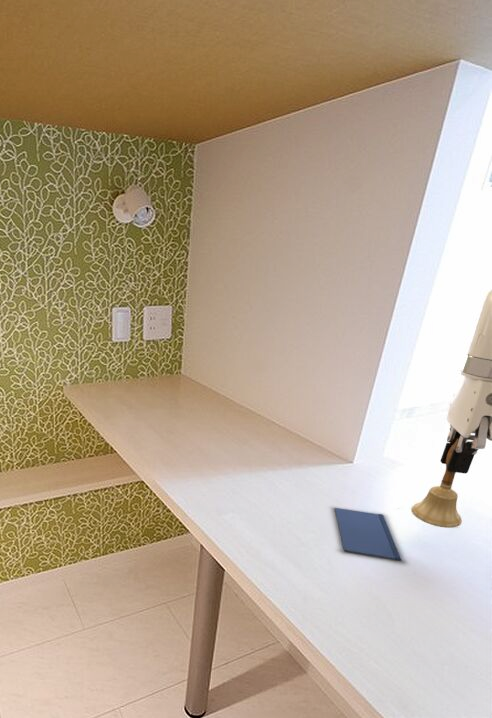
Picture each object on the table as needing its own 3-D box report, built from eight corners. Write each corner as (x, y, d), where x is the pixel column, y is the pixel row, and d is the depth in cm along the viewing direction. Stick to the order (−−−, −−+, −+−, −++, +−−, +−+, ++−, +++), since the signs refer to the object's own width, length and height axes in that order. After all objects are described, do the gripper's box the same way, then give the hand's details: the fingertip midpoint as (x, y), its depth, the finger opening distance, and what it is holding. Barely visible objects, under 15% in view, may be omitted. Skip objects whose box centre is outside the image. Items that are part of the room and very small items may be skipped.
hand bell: (408, 518, 83) (434, 442, 76) (413, 499, 89) (437, 427, 82) (460, 533, 79) (492, 454, 71) (462, 512, 85) (491, 438, 78)
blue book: (382, 516, 96) (383, 514, 96) (400, 560, 82) (401, 558, 82) (334, 508, 98) (335, 507, 98) (344, 551, 84) (344, 549, 84)
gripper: (543, 382, 63) (496, 492, 71) (494, 359, 77) (460, 452, 85) (483, 378, 65) (444, 485, 73) (447, 356, 79) (417, 447, 87)
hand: (453, 467), depth 79 cm, fingers closed on hand bell, 2 cm apart
